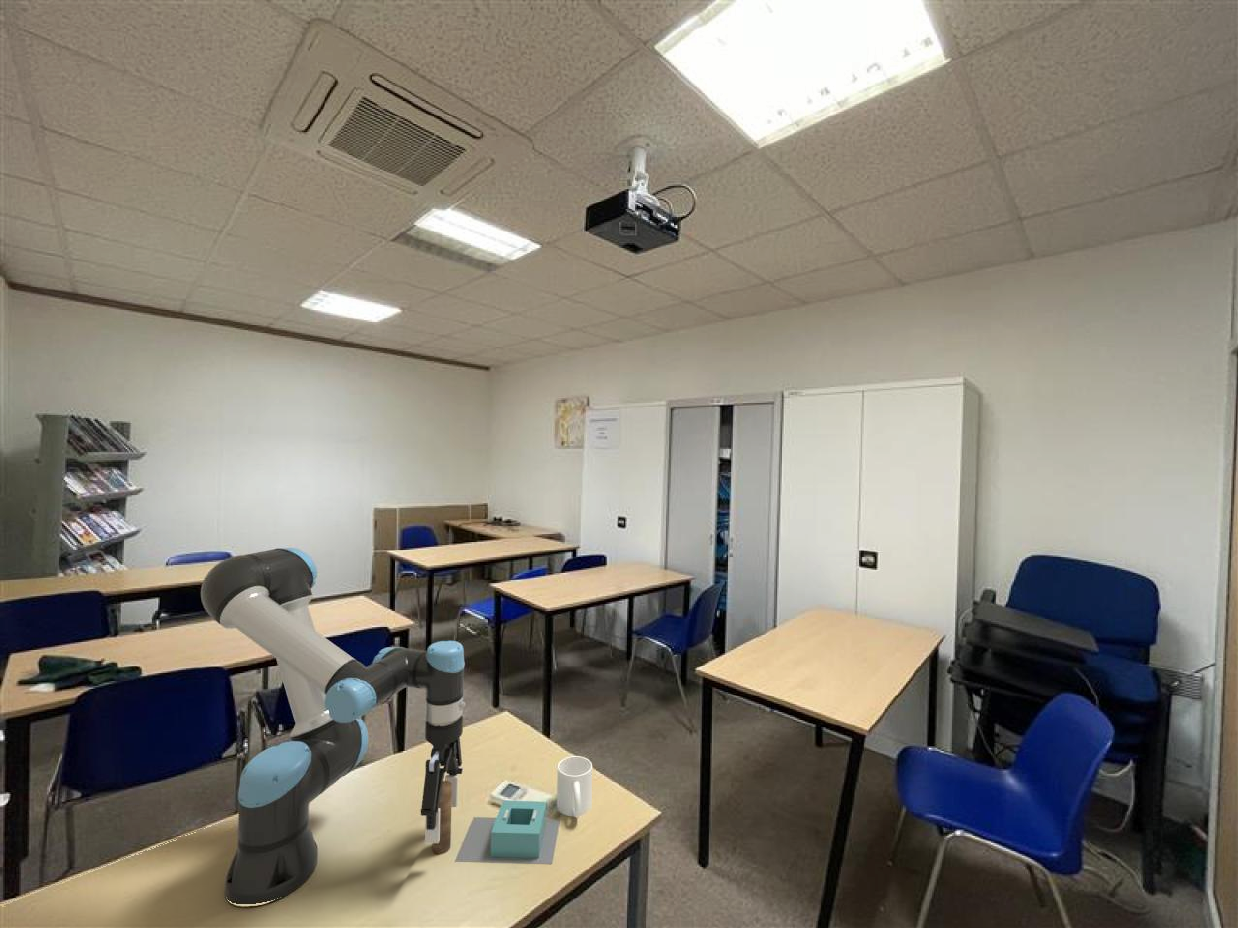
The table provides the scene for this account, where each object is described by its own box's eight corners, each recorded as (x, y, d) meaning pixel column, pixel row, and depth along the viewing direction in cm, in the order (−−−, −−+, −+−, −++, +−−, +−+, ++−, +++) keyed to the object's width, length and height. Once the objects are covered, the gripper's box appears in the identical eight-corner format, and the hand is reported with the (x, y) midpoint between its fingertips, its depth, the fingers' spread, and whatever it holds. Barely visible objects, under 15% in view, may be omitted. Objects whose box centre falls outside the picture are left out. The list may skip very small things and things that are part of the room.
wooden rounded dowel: (429, 858, 104) (431, 791, 105) (436, 845, 108) (437, 780, 108) (446, 859, 104) (448, 791, 104) (452, 846, 108) (454, 781, 108)
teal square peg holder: (490, 856, 104) (491, 829, 104) (502, 822, 114) (502, 798, 114) (538, 857, 104) (539, 831, 104) (546, 823, 114) (546, 799, 114)
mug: (594, 830, 114) (595, 784, 114) (558, 833, 112) (559, 787, 112) (589, 795, 126) (590, 754, 126) (556, 798, 124) (556, 757, 124)
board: (454, 865, 103) (454, 861, 103) (473, 821, 116) (473, 816, 116) (552, 868, 102) (552, 863, 102) (560, 823, 115) (560, 819, 115)
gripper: (442, 747, 95) (440, 865, 95) (477, 693, 118) (475, 788, 118) (403, 746, 95) (400, 864, 95) (445, 693, 118) (443, 787, 118)
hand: (442, 822), depth 106 cm, fingers open, 10 cm apart
